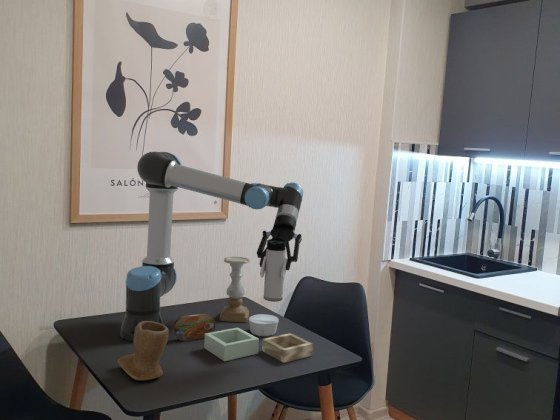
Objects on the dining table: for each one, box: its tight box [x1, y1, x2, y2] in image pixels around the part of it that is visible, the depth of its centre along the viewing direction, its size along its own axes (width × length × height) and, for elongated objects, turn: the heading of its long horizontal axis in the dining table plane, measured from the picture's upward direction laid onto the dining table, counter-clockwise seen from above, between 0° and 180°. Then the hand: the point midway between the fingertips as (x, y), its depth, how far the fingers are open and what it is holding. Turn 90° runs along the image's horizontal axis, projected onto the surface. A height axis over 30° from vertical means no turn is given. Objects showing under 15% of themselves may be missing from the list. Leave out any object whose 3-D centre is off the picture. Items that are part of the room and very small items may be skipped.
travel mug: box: [263, 238, 286, 303], centre depth 169 cm, size 6×7×20 cm
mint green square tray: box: [203, 327, 260, 362], centre depth 171 cm, size 13×13×5 cm
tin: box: [172, 313, 216, 342], centre depth 182 cm, size 15×3×8 cm, turn 117°
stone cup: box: [117, 321, 170, 381], centre depth 151 cm, size 15×12×15 cm
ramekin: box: [248, 313, 280, 337], centre depth 191 cm, size 11×11×5 cm
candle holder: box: [218, 256, 250, 323], centre depth 206 cm, size 11×11×24 cm
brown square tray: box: [261, 332, 314, 363], centre depth 172 cm, size 12×12×4 cm
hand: (271, 276), depth 166 cm, fingers closed on travel mug, 6 cm apart
